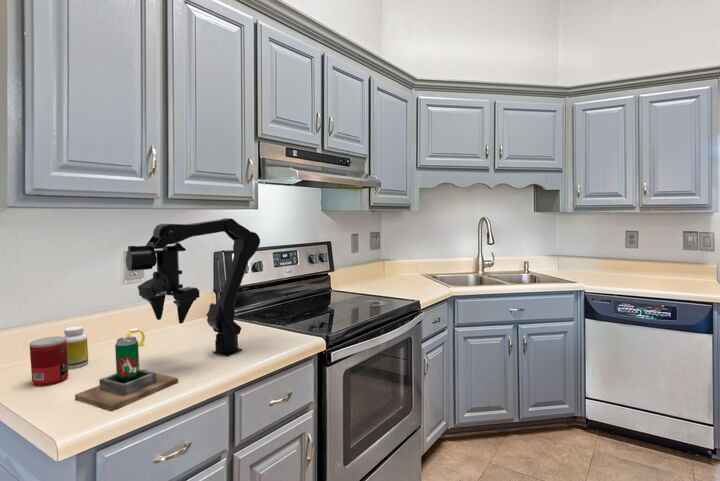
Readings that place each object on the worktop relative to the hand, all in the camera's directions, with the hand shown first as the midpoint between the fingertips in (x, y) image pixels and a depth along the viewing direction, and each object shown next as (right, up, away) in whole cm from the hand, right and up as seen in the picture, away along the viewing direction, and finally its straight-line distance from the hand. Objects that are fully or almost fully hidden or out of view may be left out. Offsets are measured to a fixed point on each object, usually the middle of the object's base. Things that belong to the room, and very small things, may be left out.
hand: (170, 321), depth 126 cm
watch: (-20, -12, +19) cm, 30 cm away
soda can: (-3, -13, -16) cm, 21 cm away
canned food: (-28, -14, -9) cm, 33 cm away
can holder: (-3, -14, -16) cm, 22 cm away
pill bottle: (-29, -13, +2) cm, 32 cm away
